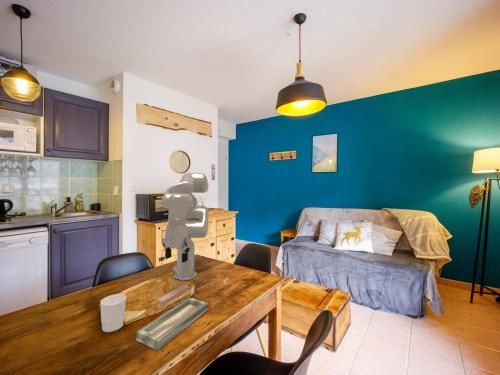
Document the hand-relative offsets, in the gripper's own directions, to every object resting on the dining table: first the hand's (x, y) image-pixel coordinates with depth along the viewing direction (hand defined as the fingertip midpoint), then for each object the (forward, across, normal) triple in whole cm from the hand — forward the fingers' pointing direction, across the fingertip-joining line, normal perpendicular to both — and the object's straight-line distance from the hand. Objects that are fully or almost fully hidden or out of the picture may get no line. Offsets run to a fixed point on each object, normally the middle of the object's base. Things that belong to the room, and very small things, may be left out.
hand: (176, 259), depth 100 cm
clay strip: (+19, -1, 0) cm, 19 cm away
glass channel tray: (+19, +12, -12) cm, 25 cm away
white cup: (+19, -7, -24) cm, 31 cm away
